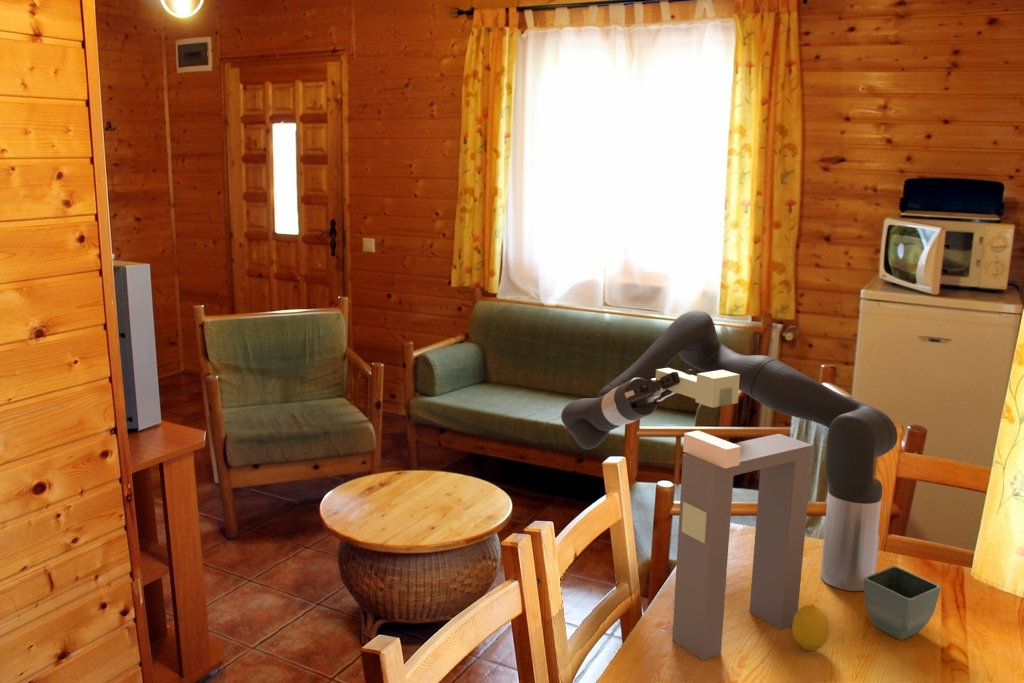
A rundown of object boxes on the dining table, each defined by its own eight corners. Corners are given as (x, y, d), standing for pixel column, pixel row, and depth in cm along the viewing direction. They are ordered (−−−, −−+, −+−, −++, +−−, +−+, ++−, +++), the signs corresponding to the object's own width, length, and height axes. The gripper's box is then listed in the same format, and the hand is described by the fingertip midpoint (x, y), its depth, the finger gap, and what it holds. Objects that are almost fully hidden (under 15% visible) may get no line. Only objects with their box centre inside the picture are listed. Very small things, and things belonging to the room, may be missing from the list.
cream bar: (697, 448, 135) (698, 430, 134) (739, 465, 127) (740, 446, 127) (683, 451, 133) (684, 433, 133) (725, 468, 126) (726, 449, 125)
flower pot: (904, 650, 136) (910, 599, 134) (857, 625, 143) (862, 577, 142) (936, 635, 141) (942, 586, 139) (888, 612, 148) (894, 565, 146)
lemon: (829, 662, 132) (833, 615, 131) (792, 657, 134) (796, 611, 132) (823, 643, 138) (828, 598, 136) (788, 639, 139) (792, 594, 137)
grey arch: (765, 605, 149) (779, 433, 143) (796, 623, 144) (812, 444, 137) (670, 640, 138) (681, 454, 132) (701, 661, 132) (713, 468, 126)
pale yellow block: (673, 382, 157) (674, 356, 156) (737, 402, 143) (739, 374, 142) (648, 386, 154) (650, 359, 153) (712, 407, 140) (714, 378, 139)
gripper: (662, 415, 166) (720, 390, 152) (605, 426, 159) (661, 400, 145) (651, 379, 168) (707, 351, 154) (595, 388, 161) (648, 359, 147)
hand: (684, 375), depth 150 cm, fingers closed on pale yellow block, 3 cm apart
